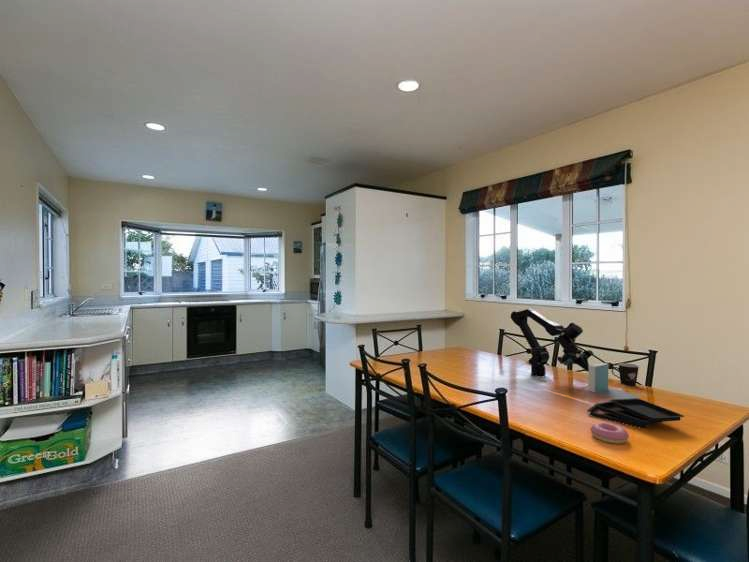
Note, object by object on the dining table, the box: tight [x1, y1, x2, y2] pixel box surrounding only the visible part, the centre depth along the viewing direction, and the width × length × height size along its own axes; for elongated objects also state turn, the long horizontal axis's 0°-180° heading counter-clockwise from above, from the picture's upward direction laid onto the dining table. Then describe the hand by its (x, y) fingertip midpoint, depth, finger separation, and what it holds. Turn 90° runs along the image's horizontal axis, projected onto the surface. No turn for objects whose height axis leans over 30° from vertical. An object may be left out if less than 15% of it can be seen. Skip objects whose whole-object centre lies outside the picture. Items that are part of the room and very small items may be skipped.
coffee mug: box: [611, 362, 640, 387], centre depth 192 cm, size 12×9×10 cm
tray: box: [586, 398, 685, 429], centre depth 145 cm, size 30×23×5 cm
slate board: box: [582, 387, 643, 400], centre depth 173 cm, size 18×16×1 cm
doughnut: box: [590, 422, 630, 445], centre depth 127 cm, size 11×11×4 cm
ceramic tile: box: [587, 362, 610, 392], centre depth 179 cm, size 3×11×12 cm, turn 119°
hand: (588, 371), depth 183 cm, fingers closed
